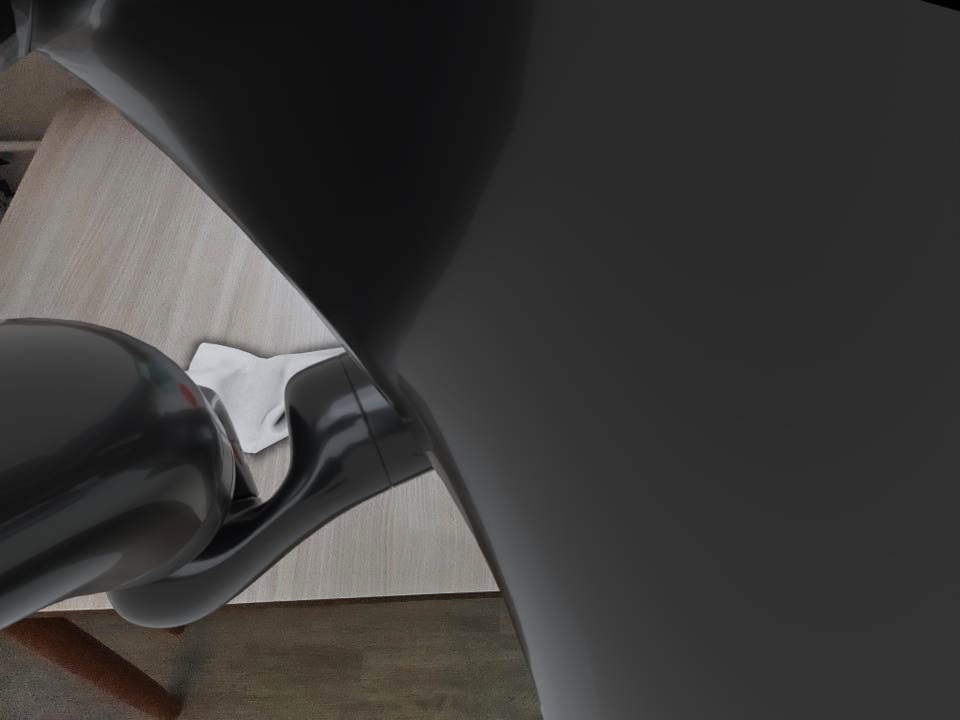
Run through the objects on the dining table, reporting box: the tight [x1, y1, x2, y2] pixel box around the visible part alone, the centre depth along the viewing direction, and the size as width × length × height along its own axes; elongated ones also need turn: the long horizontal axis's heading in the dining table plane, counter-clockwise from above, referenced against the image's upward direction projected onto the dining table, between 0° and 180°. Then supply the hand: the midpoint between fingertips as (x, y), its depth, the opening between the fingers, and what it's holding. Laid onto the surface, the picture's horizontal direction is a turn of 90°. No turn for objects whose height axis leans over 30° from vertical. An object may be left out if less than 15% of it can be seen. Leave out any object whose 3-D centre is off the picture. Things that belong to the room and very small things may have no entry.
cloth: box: [184, 342, 345, 454], centre depth 69 cm, size 26×14×2 cm, turn 85°
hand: (771, 252), depth 36 cm, fingers closed on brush, 2 cm apart
